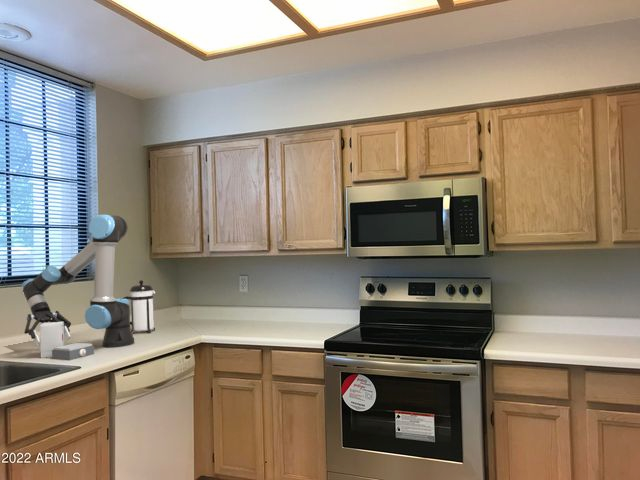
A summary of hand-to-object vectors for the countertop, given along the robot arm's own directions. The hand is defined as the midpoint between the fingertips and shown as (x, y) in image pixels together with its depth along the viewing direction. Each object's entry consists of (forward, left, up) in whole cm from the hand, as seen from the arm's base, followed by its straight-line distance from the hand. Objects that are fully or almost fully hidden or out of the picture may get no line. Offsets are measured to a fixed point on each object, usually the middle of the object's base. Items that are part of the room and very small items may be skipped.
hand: (54, 340), depth 236 cm
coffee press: (-62, -7, -7) cm, 62 cm away
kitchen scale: (-2, +10, -7) cm, 12 cm away
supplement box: (-1, -2, -7) cm, 7 cm away
